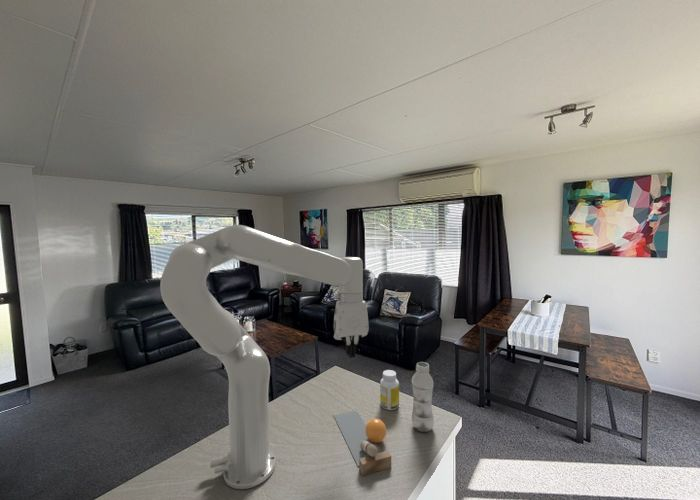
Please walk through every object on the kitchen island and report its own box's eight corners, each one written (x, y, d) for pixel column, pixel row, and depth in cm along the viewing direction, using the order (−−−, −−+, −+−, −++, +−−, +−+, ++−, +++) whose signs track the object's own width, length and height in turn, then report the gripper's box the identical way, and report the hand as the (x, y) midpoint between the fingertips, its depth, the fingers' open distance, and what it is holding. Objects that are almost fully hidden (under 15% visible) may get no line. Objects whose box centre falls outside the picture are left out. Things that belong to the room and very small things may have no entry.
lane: (357, 466, 73) (357, 466, 73) (333, 416, 94) (333, 415, 94) (386, 458, 76) (386, 457, 76) (356, 410, 97) (356, 410, 97)
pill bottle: (401, 403, 101) (402, 371, 100) (394, 413, 95) (394, 379, 95) (385, 398, 104) (385, 367, 103) (377, 407, 99) (377, 374, 98)
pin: (361, 452, 78) (369, 458, 71) (358, 441, 79) (367, 446, 72) (369, 449, 79) (378, 454, 72) (367, 438, 80) (376, 443, 73)
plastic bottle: (434, 436, 84) (435, 370, 83) (411, 433, 85) (411, 368, 84) (432, 422, 90) (433, 360, 89) (411, 420, 92) (411, 359, 91)
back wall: (362, 476, 70) (362, 464, 70) (359, 470, 72) (359, 458, 72) (391, 467, 73) (391, 455, 73) (387, 461, 75) (387, 450, 75)
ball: (379, 413, 82) (360, 419, 83) (384, 438, 78) (364, 444, 79) (386, 418, 86) (368, 423, 87) (391, 441, 82) (372, 446, 83)
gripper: (330, 302, 81) (331, 364, 82) (377, 297, 86) (378, 357, 87) (323, 296, 89) (324, 354, 89) (368, 293, 94) (368, 348, 94)
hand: (351, 355), depth 88 cm, fingers closed
